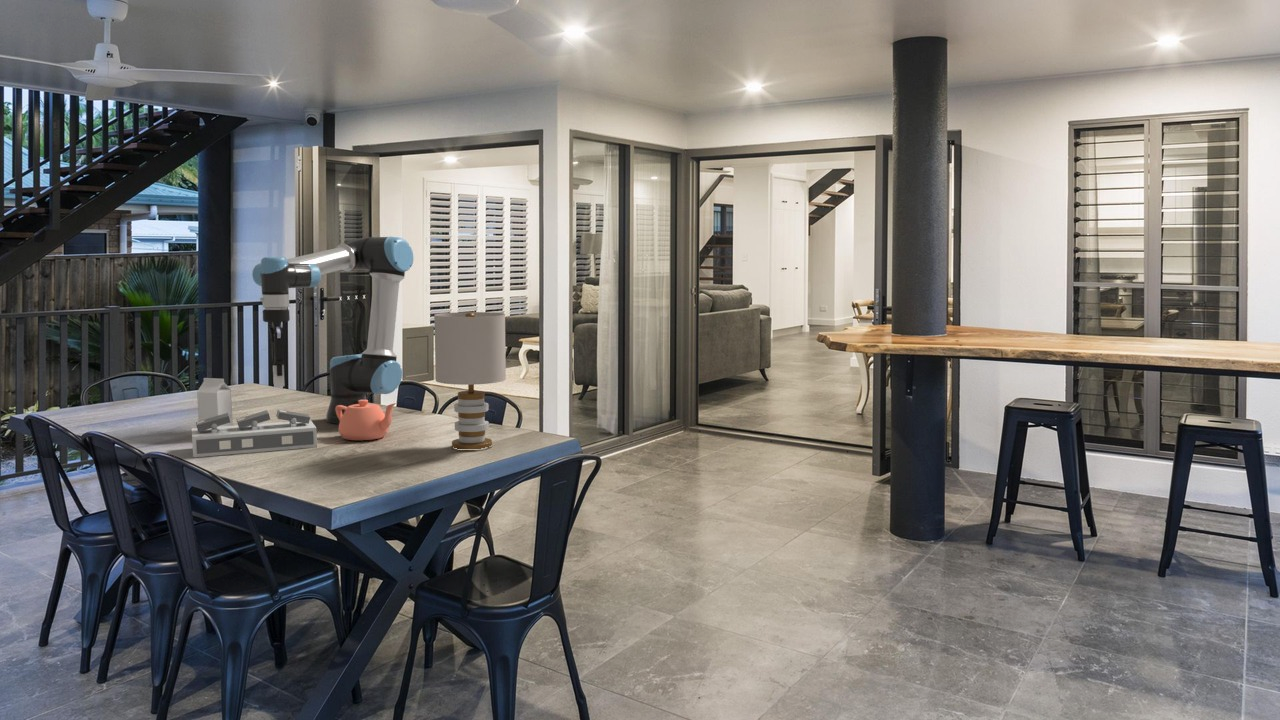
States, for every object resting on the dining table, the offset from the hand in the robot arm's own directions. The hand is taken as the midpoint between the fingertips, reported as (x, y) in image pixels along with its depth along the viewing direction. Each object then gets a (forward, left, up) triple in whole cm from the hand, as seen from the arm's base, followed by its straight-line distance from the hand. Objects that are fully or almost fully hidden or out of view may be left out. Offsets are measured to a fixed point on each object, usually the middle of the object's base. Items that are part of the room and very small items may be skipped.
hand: (279, 385), depth 282 cm
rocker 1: (+18, 0, -11) cm, 21 cm away
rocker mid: (+8, 0, -11) cm, 13 cm away
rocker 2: (-4, 0, -11) cm, 11 cm away
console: (+8, 0, -19) cm, 20 cm away
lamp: (-52, +27, -19) cm, 62 cm away
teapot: (-26, -1, -19) cm, 32 cm away
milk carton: (+18, -22, -19) cm, 34 cm away
